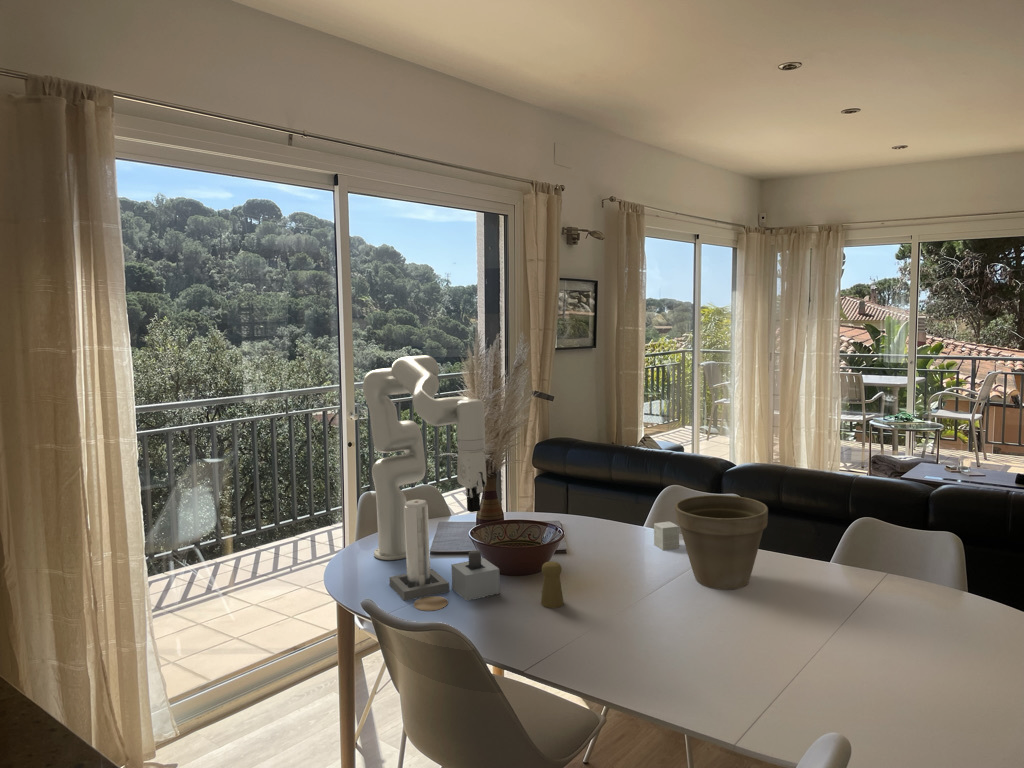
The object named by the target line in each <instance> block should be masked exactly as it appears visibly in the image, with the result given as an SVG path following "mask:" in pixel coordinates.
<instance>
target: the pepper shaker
mask: <svg viewBox="0 0 1024 768" xmlns="http://www.w3.org/2000/svg"><path fill="white" fill-rule="evenodd" d="M562 568H563V567H562V565H561V564H560V563H559V562H557V561H546V562H544V563H543V564H542V566H541V573H542V575H543V581H542V591H541V597H540V599H541V600H540V605H541V606H542V607H544V608H547V607H548V609H556V608H561V607H562V606H564V604H565V602H564V596H563V590H562V582H561V577H560V576H561V574H562V571H563V570H562Z"/></svg>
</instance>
